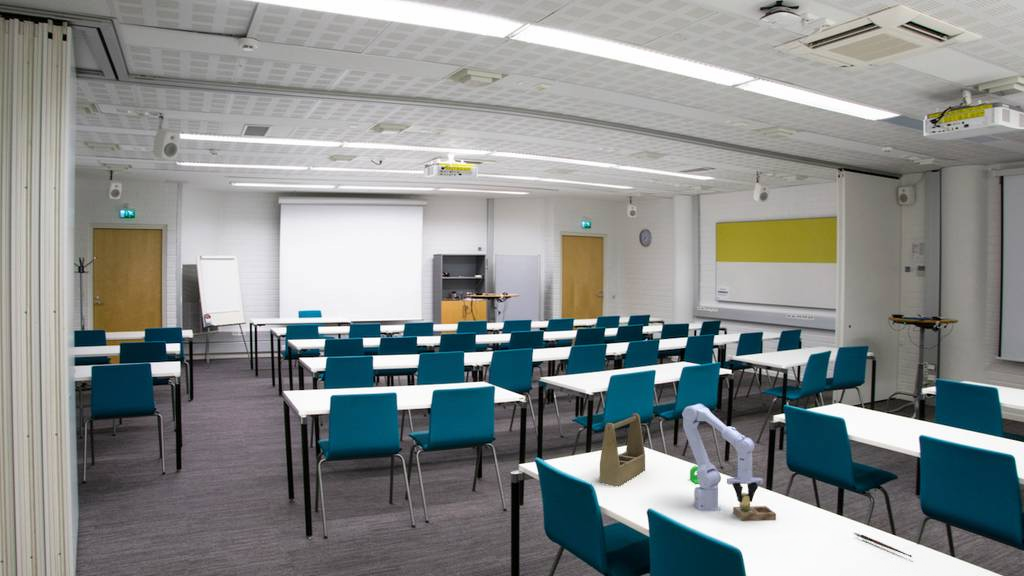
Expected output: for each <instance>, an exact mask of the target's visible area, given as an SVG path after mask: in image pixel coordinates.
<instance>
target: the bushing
mask: <svg viewBox="0 0 1024 576" xmlns="http://www.w3.org/2000/svg"><path fill="white" fill-rule="evenodd" d="M739 507H740V510H743V511H749V510H750V507H751V502H750V494H748V492H747V493H746V492H742V501H741V502H739Z"/></svg>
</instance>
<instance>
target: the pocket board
mask: <svg viewBox="0 0 1024 576" xmlns="http://www.w3.org/2000/svg"><path fill="white" fill-rule="evenodd" d="M732 508H733V509H732V510H733V511H732V512H733V513H732V514H734V515H735V516H737V518H738V519H739V520H741V521H742V522H743V521H745V522H747V521H748V522H749V521H750V522H751V521H776V520H777V516H776V515H777V513H776V512H774V511H773V509H770V508H769V507H767V506H766V505H763V506H762V505H761V506H758V505H757V506H753V505H752V506H750V510H749V511H743V510H740V506H733V507H732Z"/></svg>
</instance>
